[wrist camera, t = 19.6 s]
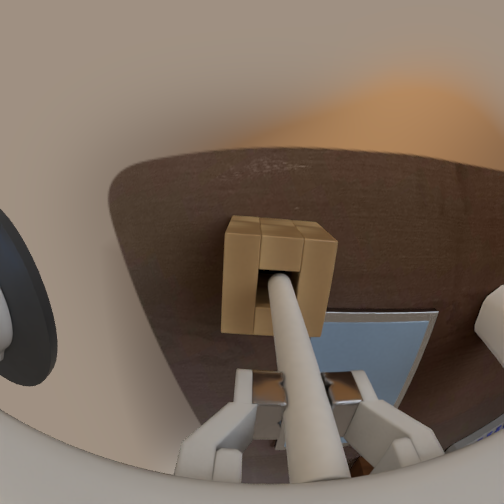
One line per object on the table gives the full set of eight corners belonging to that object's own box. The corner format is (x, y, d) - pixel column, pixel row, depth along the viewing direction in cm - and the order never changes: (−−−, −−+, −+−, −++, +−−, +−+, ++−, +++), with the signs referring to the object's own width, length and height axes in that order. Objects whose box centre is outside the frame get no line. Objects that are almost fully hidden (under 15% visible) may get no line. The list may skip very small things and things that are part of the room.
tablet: (274, 445, 29) (274, 450, 28) (302, 306, 24) (304, 311, 23) (377, 437, 29) (379, 441, 29) (435, 308, 24) (439, 312, 23)
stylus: (266, 289, 18) (286, 503, 5) (268, 268, 18) (296, 479, 4) (288, 290, 18) (342, 498, 5) (290, 270, 18) (360, 472, 4)
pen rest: (228, 293, 23) (220, 332, 18) (232, 215, 22) (224, 232, 16) (306, 298, 23) (320, 337, 18) (316, 221, 22) (338, 241, 16)
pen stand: (345, 476, 33) (352, 505, 27) (358, 456, 31) (367, 488, 25) (380, 470, 33) (389, 496, 27) (395, 449, 31) (407, 478, 25)
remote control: (510, 421, 33) (514, 427, 31) (434, 466, 35) (438, 474, 33) (522, 399, 31) (527, 404, 29) (445, 447, 32) (450, 455, 30)
